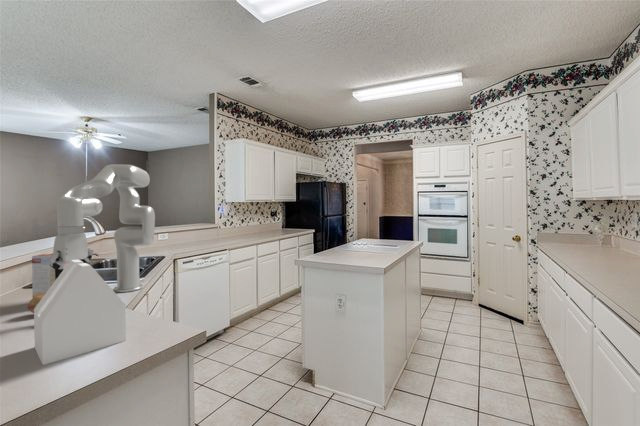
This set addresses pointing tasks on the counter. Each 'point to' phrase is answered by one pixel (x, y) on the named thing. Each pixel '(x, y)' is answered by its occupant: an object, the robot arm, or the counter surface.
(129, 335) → the counter surface
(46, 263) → the cracker box
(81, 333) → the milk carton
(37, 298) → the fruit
